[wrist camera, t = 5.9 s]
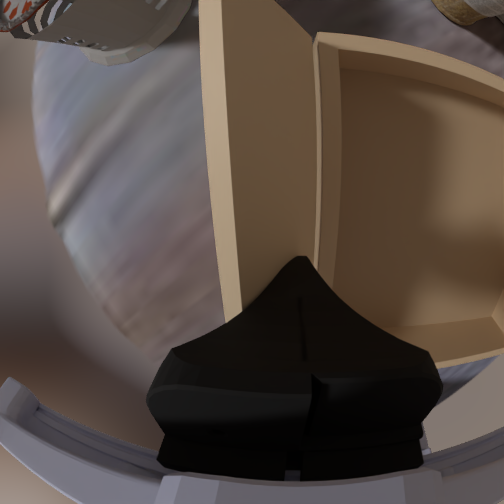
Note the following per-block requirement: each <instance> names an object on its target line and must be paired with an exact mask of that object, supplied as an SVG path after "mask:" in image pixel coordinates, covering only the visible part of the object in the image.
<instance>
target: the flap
mask: <svg viewBox="0 0 504 504" xmlns="http://www.w3.org/2000/svg"><path fill="white" fill-rule="evenodd" d="M199 35H200V60H201V80H202V97H203V112H204V127H205V140H206V152H207V164H208V175H209V186H210V196H211V206H212V215H213V225H214V234H215V243H216V251H217V260H218V268H219V276H220V284H221V291H222V299H223V306H224V313H225V321H226V323H227V322H228V321H230V320H231V319H233V318H234V317H235V316H237V315H238V314H239V313H241V312H242V311H243V310H244V309H246V308H247V307H248V306H249V305H250V304H251V303H252V302H253V301H254V300H255V299H256V298H257V297H258V296H259V295H260V294H261V293H262V292H263V291H264V289H265V288H266V287H267V286H268V285H269V284H270V282H271V281H272V280H273V279H274V277H275V276H276V275H277V274H278V272H279V271H280V270H281V269H282V267H284V266H285V265H286V264H287V263H288V262H289V261H290V260H291V259H293V258H294V257H296V256H307V257H308V258H309V259H310V261H311V263H312V264H313V266H314V249H315V228H316V196H317V126H316V95H315V76H314V60H313V47H312V37H311V36H310V35H309V34H308V33H307V32H306V31H305V30H304V29H303V28H302V27H301V26H300V25H299V24H298V23H297V22H296V21H295V20H294V19H293V18H292V17H291V16H290V15H289V14H288V13H287V12H286V11H285V10H284V9H283V8H282V7H281V6H280V5H279V4H277V3H276V2H275V1H274V0H199Z"/></svg>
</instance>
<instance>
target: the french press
mask: <svg viewBox="0 0 504 504" xmlns="http://www.w3.org/2000/svg"><path fill="white" fill-rule="evenodd" d="M48 1H49V0H0V32H9V31H10V32H11V34H12V35H13V36H14V38H22V39H30V40H39V41H47V42H55V43H59V42H61V43H62V44H68V45H71V44H72V45H74V46H79V47H80V50H81V51H82V52H83V53H84V54H85V55H86V57H87V58H88V59H89V60H90V61H92V62H95V63H99V64H102V65H106V66H112V65H117V64H123V63H129V62H132V61H134V60H135V59H137V58H139V57H141V56H143V55H145V54H147V53H149V52H150V51H152V50H154V49H156V48H157V47H158V46H159V45H160V44H161V43H162V42H163V41H164V40H165V39H166V38H167V37H168V36H170V35H171V34H172V33H173V32H174V31H175V30H176V29H177V27H178V26H179V24H180V23H181V21H182V19H183V18H184V16H185V15H186V13H187V12H188V10H189V8H190V7H191V2H192V0H63V2H62V3H61V5H60V6H59V8H58V9H57V12H56V15H55V18H54V21H53V23H51V24H50V25H48V23H47V21H48V18H49V15H50V12H51V9H52V7H53V6H54V5H55V3H56V2H57V1H58V0H50V1H49V2H48ZM47 2H48V3H47ZM46 3H47V5H46V6H45V8H44V11H43V14H42V17H41V20H40V22H41V25H42V28H43V30H41V31H40V32H38V29H37V27H36V24H35V21H34V18H35V16H36V13H37V11H38V10H39V9H40V8H41V7H42V6H44V4H46ZM69 3H72V5H71V6H70V7H69V9H67V10H66V11H65V12H64V13H63V11H64V10H65V8H66V7H67V6H68V4H69ZM26 21H27V22H28V25H29V28H30V31H31V32H32V33H34V35H33V36H32V35H30V34H28V33H26V32H24V30H23V27H22V23H24V22H26ZM66 37H69V38H71V39H70V40H69V39H67V38H66ZM61 39H64V40H65V41H66V42H65V41H63V40H61ZM57 41H59V42H57ZM75 42H77V43H78V44H79V45H77V44H75Z"/></svg>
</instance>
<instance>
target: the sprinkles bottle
mask: <svg viewBox="0 0 504 504" xmlns="http://www.w3.org/2000/svg"><path fill="white" fill-rule="evenodd" d="M432 2H433V3H434V5H435V6H436V7H437V8H438V10H439V11H440V12H442V13H443V14H444V15H445V16H446V17H447V18H449V19H450V20H452V21H453V22H455V23H457V24H460V25H472V24H473V23H475V21H477V20H480V19H483V18H486V17H493V16H496V15H500V14H504V0H432Z"/></svg>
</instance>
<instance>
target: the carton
mask: <svg viewBox="0 0 504 504" xmlns="http://www.w3.org/2000/svg"><path fill="white" fill-rule="evenodd" d="M312 47H313V60H314V76H315V95H316V126H317V196H316V228H315V249H314V267H315V269H316V270H317V272H318V273H319V274H320V276H321V277H322V278H323V279H324V281H325V282H326V283H327V284H328V286H329V287H330V288H331V289H332V290H333V291H334V292H335V293H336V294H337V295H338V296H339V297H340V298H341V299H342V300H343V301H344V302H345V303H346V304H347V305H349V306H350V307H351V308H352V309H353V310H354V311H356V312H357V313H358V314H360V315H361V316H362V317H364V318H365V319H367V320H368V321H370V322H371V323H373V324H374V325H376V326H377V327H379V328H381V329H382V330H384V331H386V332H388V333H390V334H391V335H393V336H395V337H397V338H399V339H401V340H403V341H406V342H408V343H410V344H413V345H415V346H417V347H420V348H422V349H424V350H427V351H429V353H430V355H431V357H432V359H433V361H434V363H435V365H436V368H437V369H438V368H444V367H449V366H454V365H459V364H463V363H468V362H472V361H476V360H481V359H485V358H488V357H492V356H496V355H499V354H503V353H504V79H502V78H500V77H498V76H496V75H494V74H492V73H490V72H487V71H485V70H483V69H481V68H478V67H476V66H473V65H471V64H468V63H466V62H463V61H460V60H458V59H455V58H452V57H449V56H446V55H443V54H440V53H436V52H433V51H430V50H426V49H423V48H419V47H415V46H411V45H407V44H402V43H398V42H393V41H388V40H383V39H377V38H371V37H365V36H357V35H349V34H339V33H327V32H317V35H316V38H315V40H314V43H313V46H312Z"/></svg>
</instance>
